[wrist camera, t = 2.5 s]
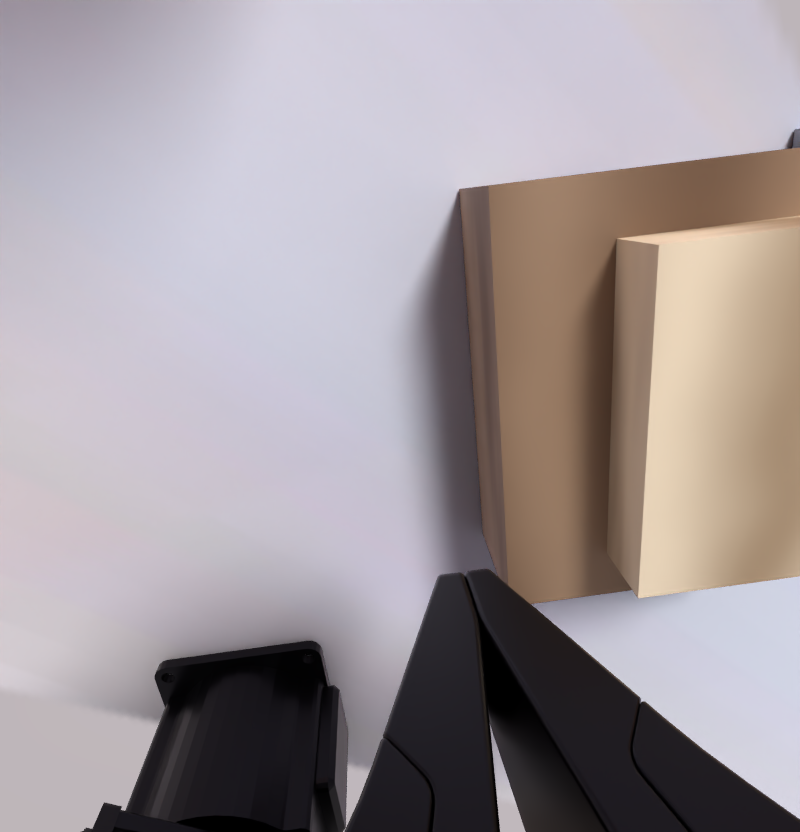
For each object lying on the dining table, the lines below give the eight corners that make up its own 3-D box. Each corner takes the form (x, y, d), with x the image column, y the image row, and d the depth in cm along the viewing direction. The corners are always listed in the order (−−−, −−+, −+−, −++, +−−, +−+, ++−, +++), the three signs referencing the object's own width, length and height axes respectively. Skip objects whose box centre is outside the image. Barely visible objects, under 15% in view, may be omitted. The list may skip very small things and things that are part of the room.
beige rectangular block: (606, 552, 16) (638, 598, 15) (616, 238, 13) (658, 245, 11) (803, 526, 16) (859, 568, 15) (863, 207, 13) (945, 208, 11)
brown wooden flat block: (482, 533, 21) (509, 606, 17) (459, 189, 16) (488, 185, 12) (744, 498, 21) (827, 563, 17) (792, 148, 16) (918, 133, 13)
